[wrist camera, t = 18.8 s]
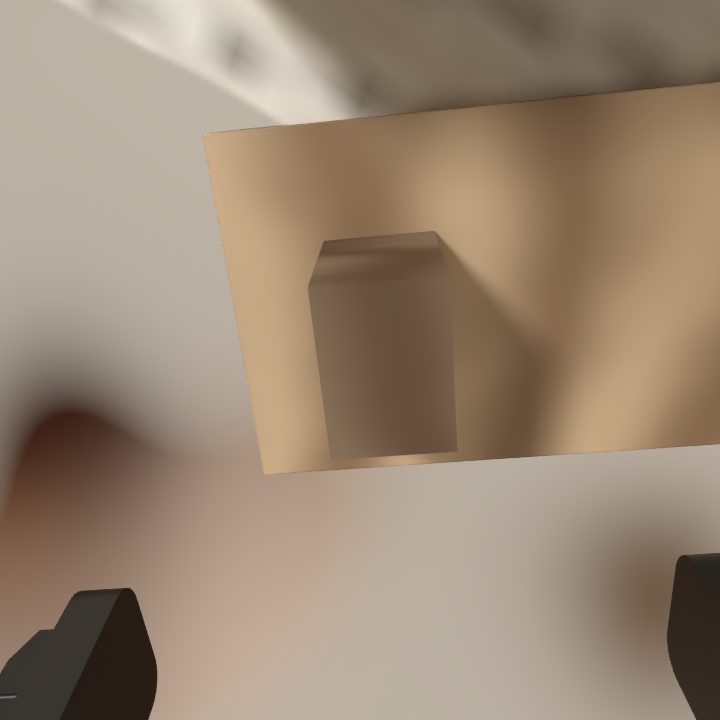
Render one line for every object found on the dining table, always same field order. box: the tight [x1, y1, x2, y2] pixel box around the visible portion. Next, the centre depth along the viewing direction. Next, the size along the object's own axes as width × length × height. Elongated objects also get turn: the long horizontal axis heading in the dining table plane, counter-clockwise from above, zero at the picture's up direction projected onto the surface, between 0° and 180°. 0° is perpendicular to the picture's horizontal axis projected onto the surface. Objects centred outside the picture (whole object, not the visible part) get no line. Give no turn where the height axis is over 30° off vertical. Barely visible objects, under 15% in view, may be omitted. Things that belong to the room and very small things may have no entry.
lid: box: [203, 81, 720, 474], centre depth 20 cm, size 20×12×6 cm, turn 96°
